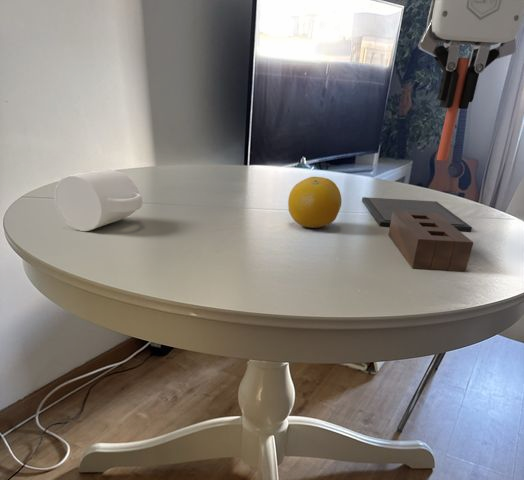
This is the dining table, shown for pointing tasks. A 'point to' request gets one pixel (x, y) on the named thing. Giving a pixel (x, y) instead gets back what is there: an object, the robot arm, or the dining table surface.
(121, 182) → the mug
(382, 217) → the tablet
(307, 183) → the fruit
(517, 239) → the dining table surface
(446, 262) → the pen stand
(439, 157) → the stylus
